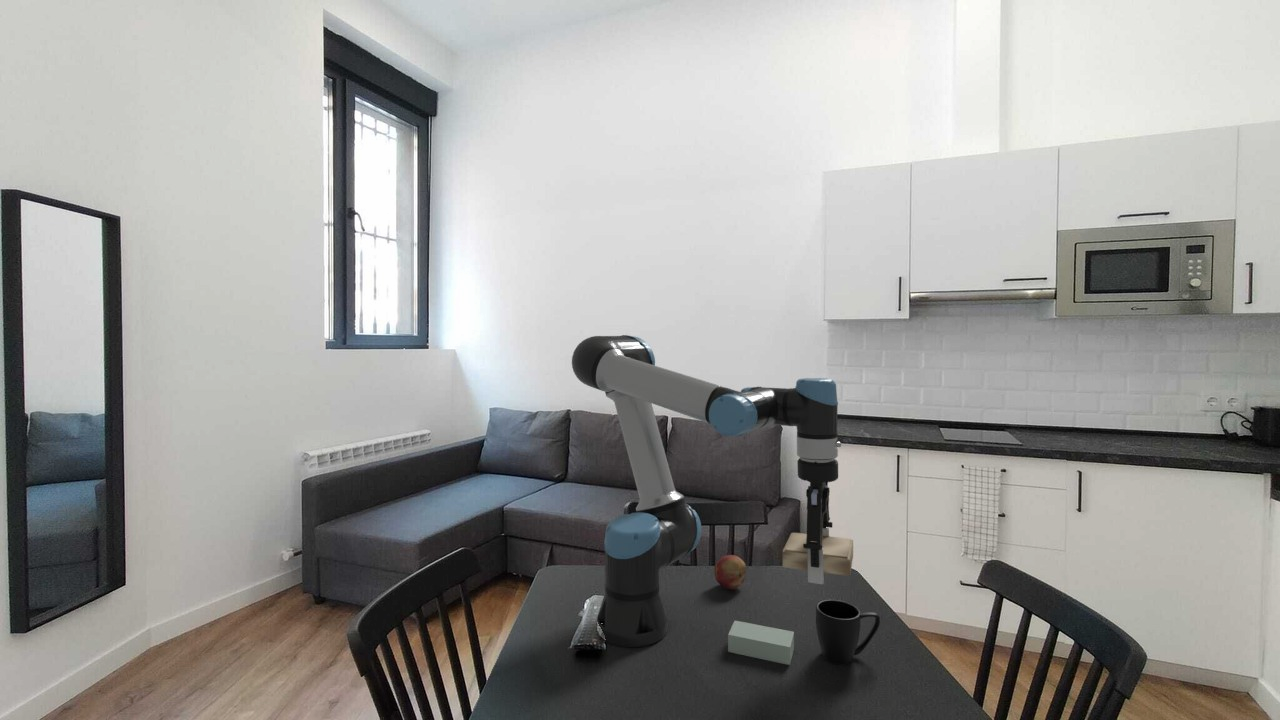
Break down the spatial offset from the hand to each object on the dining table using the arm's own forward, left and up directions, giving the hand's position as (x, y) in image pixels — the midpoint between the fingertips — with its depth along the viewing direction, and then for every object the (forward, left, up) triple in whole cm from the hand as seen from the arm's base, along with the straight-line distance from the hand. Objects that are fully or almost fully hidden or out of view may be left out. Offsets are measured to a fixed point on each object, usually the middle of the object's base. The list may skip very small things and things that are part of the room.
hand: (819, 570), depth 111 cm
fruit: (-23, +23, -17) cm, 37 cm away
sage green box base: (-11, -2, -17) cm, 20 cm away
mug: (+5, +2, -17) cm, 18 cm away
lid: (0, 0, +2) cm, 2 cm away
